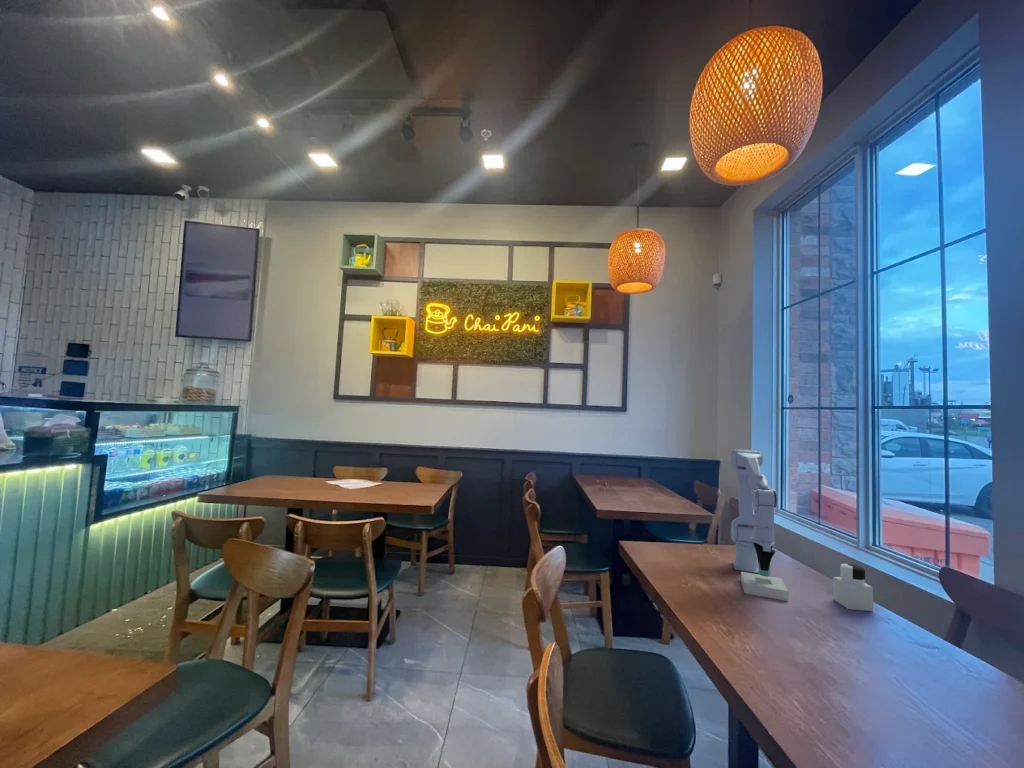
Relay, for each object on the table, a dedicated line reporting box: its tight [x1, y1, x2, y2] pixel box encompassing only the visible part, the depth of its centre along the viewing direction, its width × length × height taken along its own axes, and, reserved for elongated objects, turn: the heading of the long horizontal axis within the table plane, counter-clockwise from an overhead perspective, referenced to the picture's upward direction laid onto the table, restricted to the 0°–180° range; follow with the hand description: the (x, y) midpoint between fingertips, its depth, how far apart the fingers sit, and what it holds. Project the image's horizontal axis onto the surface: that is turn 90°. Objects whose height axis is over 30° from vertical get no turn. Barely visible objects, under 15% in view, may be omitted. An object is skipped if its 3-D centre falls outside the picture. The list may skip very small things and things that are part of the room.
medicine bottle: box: [832, 562, 874, 612], centre depth 133 cm, size 7×7×12 cm
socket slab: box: [740, 571, 789, 602], centre depth 141 cm, size 12×12×3 cm
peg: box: [757, 564, 771, 577], centre depth 141 cm, size 3×3×7 cm
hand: (763, 568), depth 141 cm, fingers closed on peg, 3 cm apart
